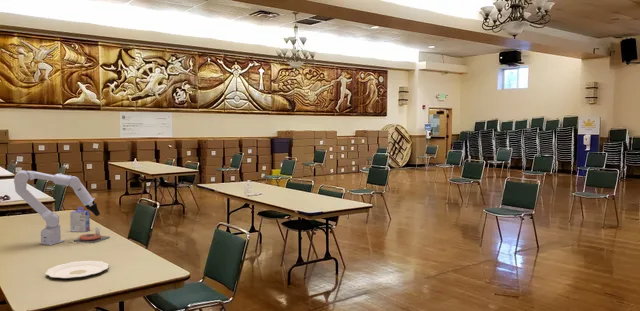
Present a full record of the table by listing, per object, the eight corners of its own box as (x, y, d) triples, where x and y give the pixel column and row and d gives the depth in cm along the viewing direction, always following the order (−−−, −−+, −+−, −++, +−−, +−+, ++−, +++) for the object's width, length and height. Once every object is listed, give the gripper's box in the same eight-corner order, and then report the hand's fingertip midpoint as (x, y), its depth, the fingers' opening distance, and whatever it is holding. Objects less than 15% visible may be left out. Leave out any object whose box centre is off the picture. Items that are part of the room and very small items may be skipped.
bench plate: (93, 243, 266) (93, 241, 266) (73, 241, 270) (73, 239, 270) (109, 237, 278) (109, 236, 278) (90, 236, 282) (90, 234, 282)
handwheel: (77, 240, 266) (76, 230, 266) (82, 236, 277) (81, 226, 277) (98, 239, 269) (98, 229, 268) (102, 235, 280) (102, 225, 279)
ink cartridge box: (90, 230, 299) (89, 207, 298) (86, 232, 293) (85, 208, 292) (74, 229, 299) (74, 206, 298) (70, 231, 293) (69, 208, 292)
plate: (92, 261, 232) (92, 257, 231) (119, 271, 216) (119, 267, 216) (36, 273, 212) (36, 269, 212) (60, 286, 196) (60, 281, 196)
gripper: (91, 192, 268) (105, 212, 273) (88, 190, 281) (101, 208, 285) (79, 199, 265) (94, 219, 269) (77, 196, 278) (90, 215, 282)
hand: (97, 214), depth 277 cm, fingers open, 7 cm apart
